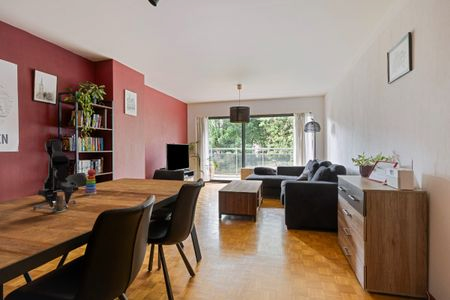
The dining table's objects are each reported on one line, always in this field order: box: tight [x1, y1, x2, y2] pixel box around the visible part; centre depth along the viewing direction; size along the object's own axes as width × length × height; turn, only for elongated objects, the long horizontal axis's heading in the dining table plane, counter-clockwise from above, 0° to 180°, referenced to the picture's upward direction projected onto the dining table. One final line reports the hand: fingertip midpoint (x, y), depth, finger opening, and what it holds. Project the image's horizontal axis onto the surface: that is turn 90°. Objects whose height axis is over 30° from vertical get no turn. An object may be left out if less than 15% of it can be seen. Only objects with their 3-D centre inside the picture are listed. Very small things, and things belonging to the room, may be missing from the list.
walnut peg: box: [55, 194, 64, 212], centre depth 132 cm, size 3×3×8 cm
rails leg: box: [33, 203, 69, 214], centre depth 134 cm, size 17×8×2 cm, turn 69°
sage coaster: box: [51, 208, 67, 213], centre depth 132 cm, size 5×5×1 cm
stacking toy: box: [83, 168, 97, 196], centre depth 177 cm, size 8×8×19 cm
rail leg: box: [32, 198, 77, 211], centre depth 141 cm, size 8×20×2 cm, turn 159°
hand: (59, 205), depth 132 cm, fingers open, 8 cm apart
